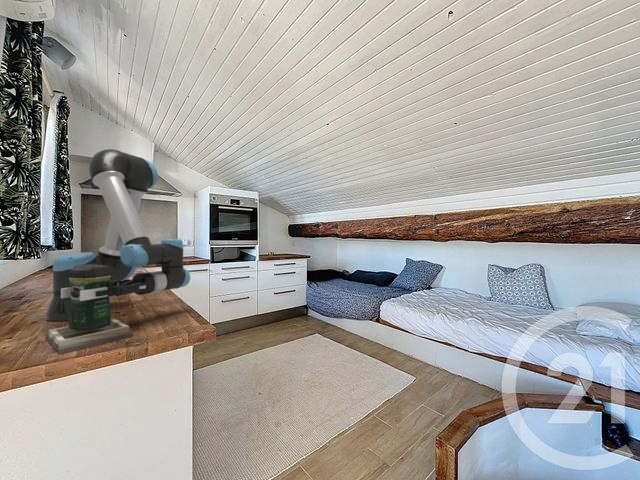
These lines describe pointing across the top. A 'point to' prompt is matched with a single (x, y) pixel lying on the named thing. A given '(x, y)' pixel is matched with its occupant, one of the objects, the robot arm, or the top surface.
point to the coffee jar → (92, 310)
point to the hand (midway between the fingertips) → (70, 294)
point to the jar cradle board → (87, 336)
